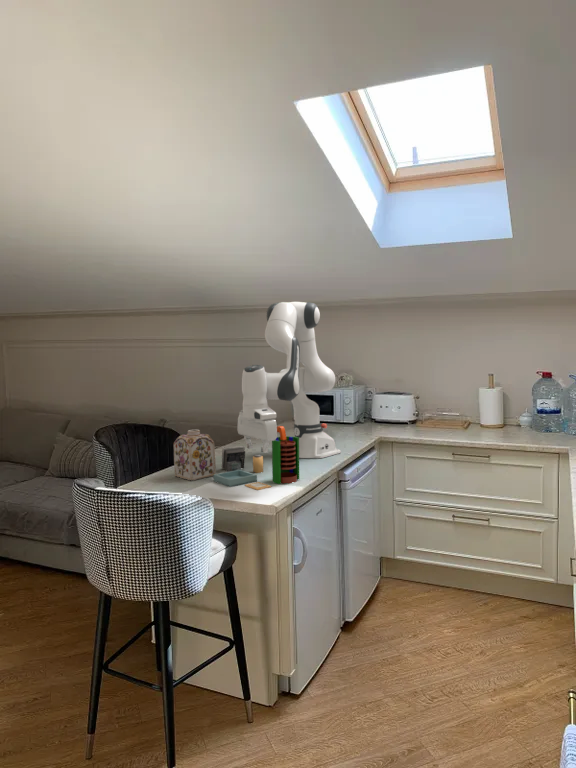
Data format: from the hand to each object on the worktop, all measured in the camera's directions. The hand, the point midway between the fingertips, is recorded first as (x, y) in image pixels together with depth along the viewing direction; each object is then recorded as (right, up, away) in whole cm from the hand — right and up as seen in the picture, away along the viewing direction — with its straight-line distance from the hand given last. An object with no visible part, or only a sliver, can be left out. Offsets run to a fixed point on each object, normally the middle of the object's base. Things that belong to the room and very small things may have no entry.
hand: (257, 450), depth 211 cm
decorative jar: (-25, -12, +19) cm, 34 cm away
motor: (+10, -12, +8) cm, 18 cm away
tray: (-9, -13, +9) cm, 18 cm away
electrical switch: (-11, -11, +30) cm, 34 cm away
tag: (0, -13, +1) cm, 13 cm away
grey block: (-10, -12, +19) cm, 25 cm away
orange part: (-1, -11, +23) cm, 26 cm away
